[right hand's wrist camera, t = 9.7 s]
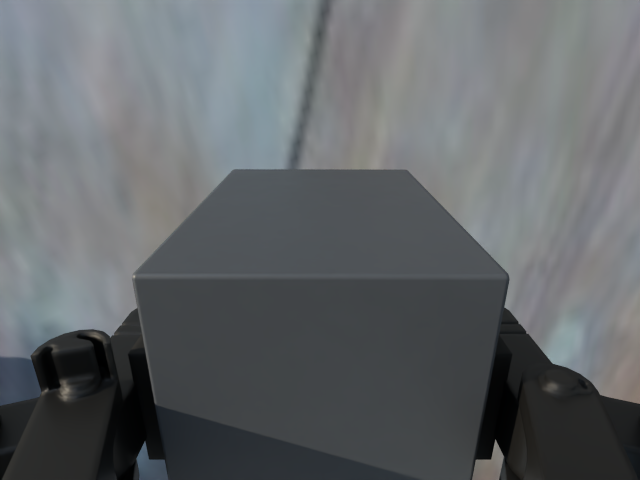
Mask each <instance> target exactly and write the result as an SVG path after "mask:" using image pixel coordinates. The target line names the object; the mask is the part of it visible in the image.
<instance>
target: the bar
mask: <svg viewBox="0 0 640 480" xmlns="http://www.w3.org/2000/svg"><path fill="white" fill-rule="evenodd" d="M132 280H133V286H134V291H135V297H136V302H137V308H138V313H139V319H140V325H141V330H142V336H143V341H144V347H145V352H146V358H147V363H148V369H149V374H150V380H151V385H152V391H153V396H154V402H155V407H156V413H157V419H158V424H159V430H160V435H161V441H162V446H163V452H164V457H165V463H166V468H167V474H168V479H169V480H472V476H473V471H474V466H475V460H476V455H477V450H478V444H479V439H480V434H481V428H482V423H483V418H484V412H485V407H486V402H487V396H488V391H489V386H490V380H491V375H492V370H493V364H494V359H495V354H496V348H497V343H498V337H499V332H500V327H501V321H502V316H503V311H504V305H505V300H506V295H507V289H508V284H509V275H508V273H507V272H506V271H505V270H504V269H503V268H502V267H501V266H500V265H499V264H498V263H497V262H496V261H495V260H494V259H493V258H492V257H491V256H490V255H489V254H488V253H487V252H486V251H485V250H484V249H483V248H482V247H481V246H480V245H479V244H478V243H477V242H476V240H475V239H474V238H473V237H472V236H471V235H470V234H469V233H468V232H467V231H466V230H465V229H464V228H463V227H462V226H461V225H460V224H459V223H458V222H457V221H456V220H455V219H454V218H453V217H452V216H451V215H450V214H449V213H448V212H447V211H446V210H445V209H444V208H443V207H442V206H441V204H440V203H439V202H438V201H437V200H436V199H435V198H434V197H433V196H432V195H431V194H430V193H429V192H428V191H427V190H426V189H425V188H424V187H423V186H422V185H421V184H420V183H419V182H418V181H417V180H416V179H415V178H414V177H413V176H412V175H411V174H410V173H409V172H408V171H407V170H238V169H235V170H233V171H232V172H231V173H230V174H229V175H228V176H227V177H226V178H225V179H224V180H223V181H222V182H221V183H220V184H219V185H218V186H217V187H216V188H215V189H214V190H213V191H212V192H211V193H210V194H209V195H208V197H207V198H206V199H205V200H204V201H203V202H202V203H201V204H200V205H199V206H198V207H197V208H196V209H195V210H194V211H193V212H192V213H191V214H190V215H189V216H188V217H187V218H186V219H185V220H184V222H183V223H182V224H181V225H180V226H179V227H178V228H177V229H176V230H175V231H174V232H173V233H172V234H171V235H170V236H169V237H168V238H167V239H166V240H165V241H164V242H163V243H162V244H161V245H160V246H159V248H158V249H157V250H156V251H155V252H154V253H153V254H152V255H151V256H150V257H149V258H148V259H147V260H146V261H145V262H144V263H143V264H142V265H141V266H140V267H139V268H138V269H137V270H136V271H135V273H134V274H133V277H132Z"/></svg>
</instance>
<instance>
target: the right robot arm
mask: <svg viewBox="0 0 640 480" xmlns="http://www.w3.org/2000/svg"><path fill="white" fill-rule="evenodd" d="M31 359H32V362H33V365H34V369H35V372H36V375H37V378H38V382H39V385H40V388H41V391H42V393H41V395H40V397H38V398H34V399H30V400H26V401H21V402H16V403H12V404H7V405H2V406H0V480H139V470H138V464H137V459H136V458H137V456H138V454H139V452H140V450H141V448H142V446H143V444H144V442H145V441H146V446H147V451H148V456H149V459H165V457H164V452H163V446H162V441H161V435H160V430H159V424H158V419H157V413H156V407H155V402H154V396H153V391H152V385H151V380H150V374H149V369H148V363H147V358H146V352H145V347H144V341H143V336H142V330H141V325H140V319H139V313H138V308H137V309H135V310H134V311H132V312H131V313H130V314H129V316H128V317H127V318H126V319H125V320H124V322H123V323H122V326H120V327H119V328H118V329H117V330H116V332H115V333H114V335H112V337H111V338H110V336H109V335H107V334H106V333H105V332H103V331H98V330H93V329H92V330H78V331H74V332H70V333H65V334H63V335H60V336H58V337H55V338H53V339H51V340H49V341H47V342H46V343H44V344H43V345H41V346H40V347H38V348H37V349H36V350H35V352H34V353H33V354H32V355H31ZM495 439H496V441H497V443H498V445H499V447H500V449H501V451H502V453H503V455H504V459H503V464H502V469H501V473H500V478H499V480H640V404H637V403H633V402H628V401H623V400H618V399H614V398H609V397H605V396H602V395H600V394H599V392H598V391H597V389H596V388H595V387H594V385H593V384H592V383H591V382H590V381H589V380H587V379H586V378H585V377H583V376H582V375H581V374H579V373H577V372H575V371H573V370H571V369H568V368H566V367H563V366H559V365H555V364H552V363H551V361H550V360H549V359H548V358H547V356H546V355H545V354H544V353H543V352H542V350H541V349H540V348H539V347H538V345H537V344H536V343H535V342H534V340H533V339H532V338H531V337H530V336H529V334H526V331H525V329H524V328H523V327H522V326H521V325H520V324H518V321H517V320H516V318H515V317H514V316H513V315H512V314H511V312H510V311H509V310H507V309H506V308H504V311H503V316H502V321H501V327H500V332H499V337H498V343H497V348H496V354H495V359H494V364H493V370H492V375H491V380H490V386H489V391H488V396H487V402H486V407H485V412H484V418H483V423H482V428H481V434H480V439H479V444H478V450H477V455H476V459H491V457H492V453H493V448H494V443H495Z"/></svg>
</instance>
